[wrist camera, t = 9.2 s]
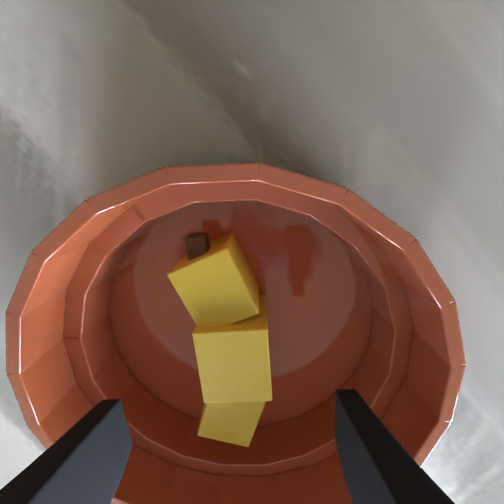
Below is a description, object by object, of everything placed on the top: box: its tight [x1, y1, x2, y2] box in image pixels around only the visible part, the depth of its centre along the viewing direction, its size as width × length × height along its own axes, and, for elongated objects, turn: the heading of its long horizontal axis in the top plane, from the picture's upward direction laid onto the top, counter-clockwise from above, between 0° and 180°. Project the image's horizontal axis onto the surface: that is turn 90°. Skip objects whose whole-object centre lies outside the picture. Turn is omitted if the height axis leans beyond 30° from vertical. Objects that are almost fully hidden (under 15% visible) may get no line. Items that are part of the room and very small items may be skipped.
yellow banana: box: [167, 233, 272, 447], centre depth 12 cm, size 10×4×3 cm, turn 4°
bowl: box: [6, 162, 466, 504], centre depth 12 cm, size 16×16×5 cm
